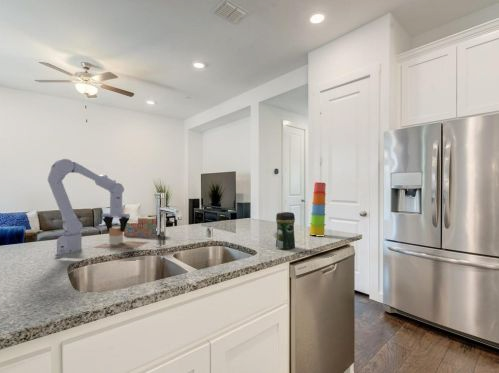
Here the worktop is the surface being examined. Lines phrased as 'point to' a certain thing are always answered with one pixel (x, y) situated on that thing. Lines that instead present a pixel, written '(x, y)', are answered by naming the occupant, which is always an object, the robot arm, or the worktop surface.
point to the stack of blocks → (141, 227)
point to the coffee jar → (285, 230)
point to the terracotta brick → (115, 231)
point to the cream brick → (115, 239)
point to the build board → (122, 245)
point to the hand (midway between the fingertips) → (116, 231)
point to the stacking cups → (318, 209)
